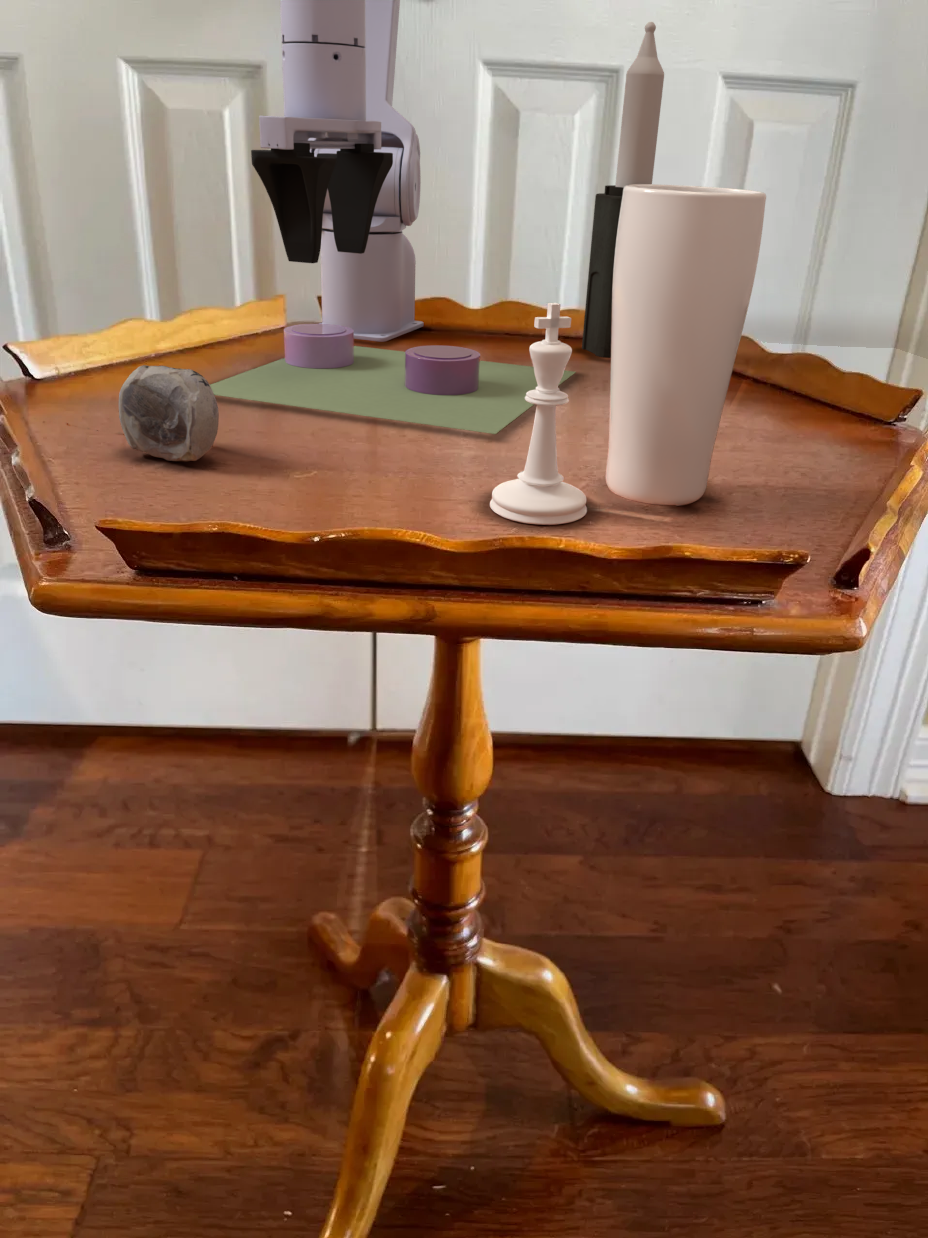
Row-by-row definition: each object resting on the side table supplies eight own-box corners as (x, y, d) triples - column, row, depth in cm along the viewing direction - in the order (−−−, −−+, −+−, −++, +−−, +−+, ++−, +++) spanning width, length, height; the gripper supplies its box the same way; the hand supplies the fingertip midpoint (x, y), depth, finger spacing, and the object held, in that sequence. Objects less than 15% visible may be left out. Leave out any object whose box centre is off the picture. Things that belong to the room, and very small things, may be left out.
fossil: (107, 455, 55) (96, 364, 53) (146, 440, 58) (137, 353, 56) (204, 472, 53) (197, 379, 51) (240, 456, 56) (234, 367, 54)
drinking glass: (580, 472, 56) (608, 181, 49) (698, 474, 56) (741, 187, 50) (604, 514, 50) (640, 189, 43) (735, 516, 50) (790, 196, 44)
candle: (577, 348, 88) (606, 21, 77) (629, 347, 89) (665, 26, 78) (601, 361, 84) (635, 15, 72) (655, 359, 85) (697, 21, 74)
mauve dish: (421, 374, 75) (422, 341, 74) (488, 383, 73) (490, 349, 72) (392, 389, 70) (392, 354, 69) (463, 398, 69) (465, 362, 68)
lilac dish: (305, 351, 81) (304, 320, 80) (365, 358, 79) (365, 327, 78) (271, 363, 76) (270, 330, 75) (334, 371, 75) (334, 338, 74)
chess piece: (604, 519, 49) (627, 311, 45) (513, 529, 47) (528, 313, 43) (559, 488, 53) (576, 294, 49) (474, 496, 51) (484, 296, 47)
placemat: (326, 345, 85) (326, 342, 85) (575, 375, 78) (576, 371, 78) (191, 395, 68) (191, 391, 68) (495, 438, 61) (495, 433, 61)
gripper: (326, 37, 60) (330, 271, 66) (419, 56, 73) (415, 252, 79) (226, 35, 62) (239, 262, 68) (333, 54, 75) (336, 245, 81)
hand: (328, 256), depth 74 cm, fingers open, 7 cm apart
